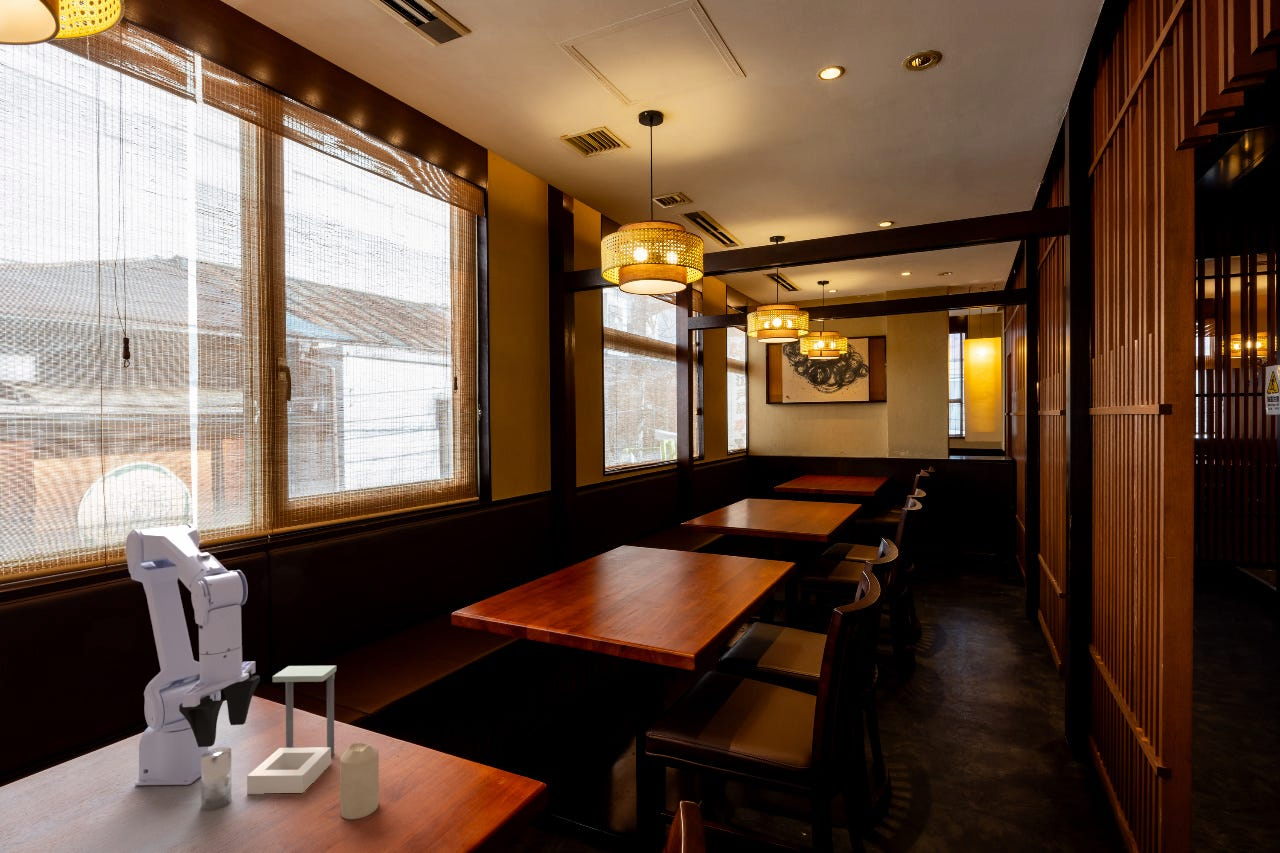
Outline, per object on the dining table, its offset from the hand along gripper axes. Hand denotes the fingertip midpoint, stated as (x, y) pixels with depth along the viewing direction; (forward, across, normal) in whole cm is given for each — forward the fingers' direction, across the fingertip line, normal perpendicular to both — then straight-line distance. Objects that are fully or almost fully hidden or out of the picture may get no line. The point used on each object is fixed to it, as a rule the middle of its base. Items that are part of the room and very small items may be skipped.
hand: (222, 734), depth 100 cm
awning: (+11, +14, -6) cm, 19 cm away
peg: (+11, 0, +2) cm, 11 cm away
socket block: (+11, +8, -6) cm, 15 cm away
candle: (+12, -2, -22) cm, 26 cm away
